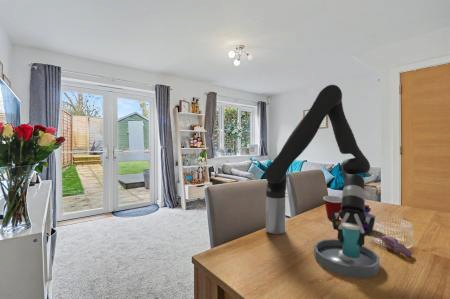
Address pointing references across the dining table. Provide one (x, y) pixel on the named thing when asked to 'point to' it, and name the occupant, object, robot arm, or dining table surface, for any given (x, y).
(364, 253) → the groove tray
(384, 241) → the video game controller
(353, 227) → the bead jar
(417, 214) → the dining table surface
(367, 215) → the potion bottle
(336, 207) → the plastic cup
